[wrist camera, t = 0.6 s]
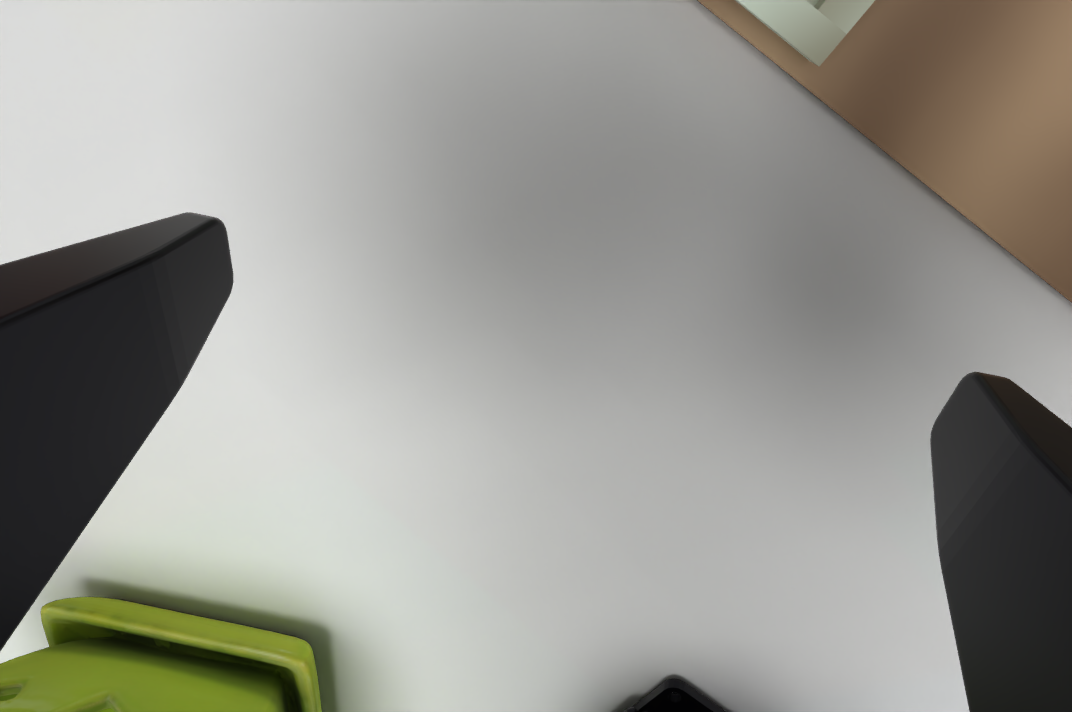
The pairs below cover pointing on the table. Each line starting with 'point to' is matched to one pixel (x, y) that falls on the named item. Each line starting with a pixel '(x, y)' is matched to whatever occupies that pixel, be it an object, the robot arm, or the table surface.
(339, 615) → the table surface
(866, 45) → the stand
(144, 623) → the flower pot
